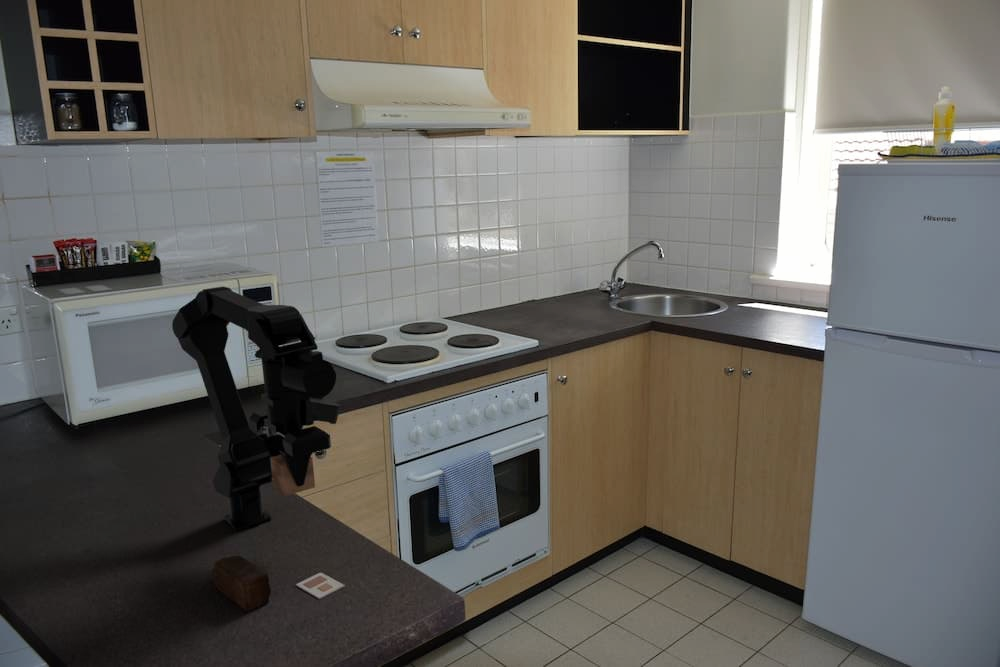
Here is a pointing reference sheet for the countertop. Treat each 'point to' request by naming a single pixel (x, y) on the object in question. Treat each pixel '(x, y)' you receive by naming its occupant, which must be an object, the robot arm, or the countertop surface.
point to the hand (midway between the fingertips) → (293, 480)
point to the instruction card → (320, 585)
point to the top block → (289, 477)
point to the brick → (242, 582)
